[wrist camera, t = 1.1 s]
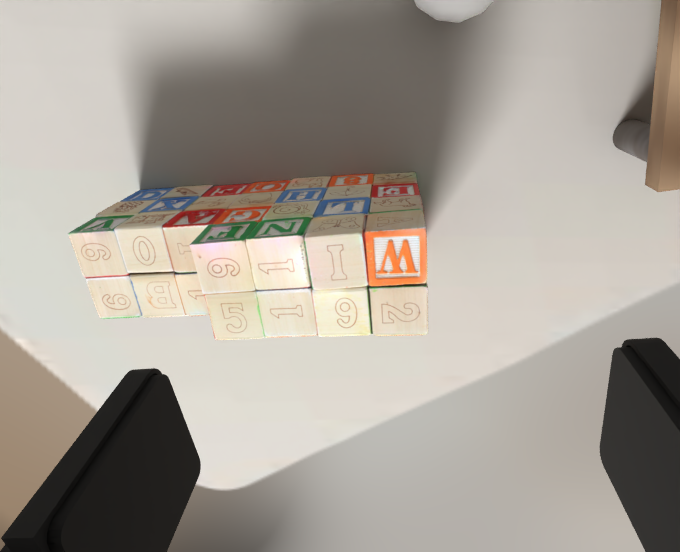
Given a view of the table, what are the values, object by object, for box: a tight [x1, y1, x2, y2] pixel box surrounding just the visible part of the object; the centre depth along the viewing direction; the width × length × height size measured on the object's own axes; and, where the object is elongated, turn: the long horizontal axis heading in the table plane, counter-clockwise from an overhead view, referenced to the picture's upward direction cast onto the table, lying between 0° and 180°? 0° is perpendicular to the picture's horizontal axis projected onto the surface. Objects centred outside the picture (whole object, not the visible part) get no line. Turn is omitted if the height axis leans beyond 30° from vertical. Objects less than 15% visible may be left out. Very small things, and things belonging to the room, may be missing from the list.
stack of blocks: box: [68, 172, 428, 340], centre depth 31 cm, size 21×6×12 cm, turn 95°
